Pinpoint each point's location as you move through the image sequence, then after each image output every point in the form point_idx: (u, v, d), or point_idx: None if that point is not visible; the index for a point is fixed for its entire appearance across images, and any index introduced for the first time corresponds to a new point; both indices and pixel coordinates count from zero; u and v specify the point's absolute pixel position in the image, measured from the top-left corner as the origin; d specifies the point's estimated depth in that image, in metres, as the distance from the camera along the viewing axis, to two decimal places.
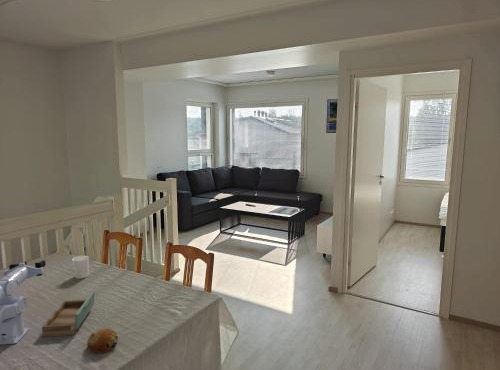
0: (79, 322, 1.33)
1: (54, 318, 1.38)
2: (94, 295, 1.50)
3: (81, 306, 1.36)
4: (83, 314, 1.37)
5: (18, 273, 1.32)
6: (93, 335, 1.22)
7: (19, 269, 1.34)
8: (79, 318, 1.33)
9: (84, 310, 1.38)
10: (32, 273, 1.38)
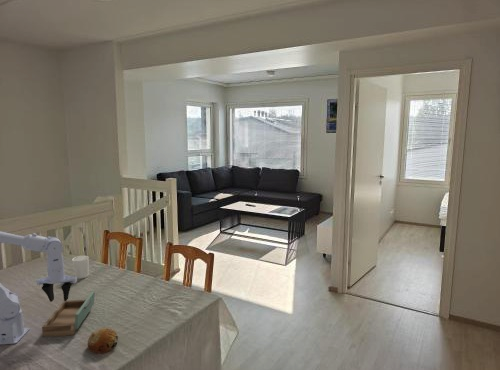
0: (79, 322, 1.33)
1: (54, 318, 1.38)
2: (94, 295, 1.50)
3: (81, 306, 1.36)
4: (83, 314, 1.37)
5: (62, 265, 1.36)
6: (93, 335, 1.22)
7: None
8: (79, 318, 1.33)
9: (84, 310, 1.38)
10: (65, 280, 1.37)
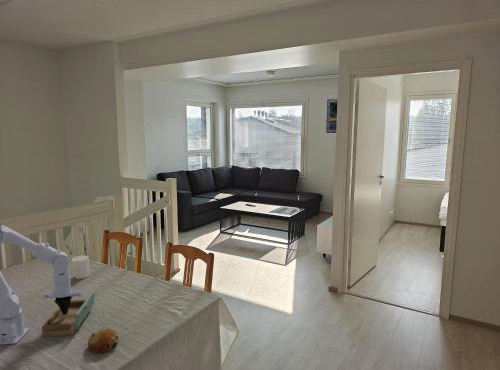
0: (79, 322, 1.33)
1: (54, 318, 1.38)
2: (94, 295, 1.50)
3: (81, 306, 1.36)
4: (83, 314, 1.37)
5: (68, 279, 1.37)
6: (93, 335, 1.22)
7: None
8: (79, 318, 1.33)
9: (84, 310, 1.38)
10: (71, 293, 1.38)
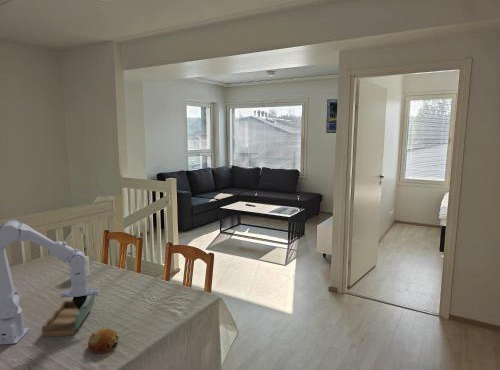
0: (79, 322, 1.33)
1: (54, 318, 1.38)
2: (94, 295, 1.50)
3: (81, 306, 1.37)
4: (83, 314, 1.37)
5: (84, 279, 1.38)
6: (94, 335, 1.22)
7: None
8: (79, 318, 1.33)
9: (84, 310, 1.38)
10: (88, 292, 1.39)
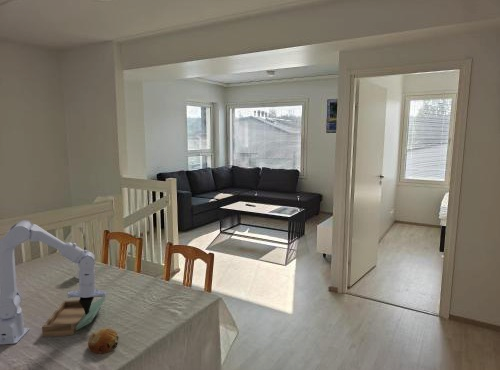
0: None
1: (54, 318, 1.38)
2: None
3: (94, 312, 1.37)
4: None
5: (93, 280, 1.38)
6: (94, 335, 1.22)
7: None
8: None
9: None
10: None
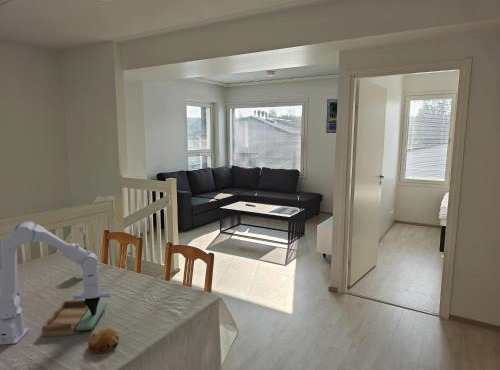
0: None
1: (54, 318, 1.38)
2: None
3: (97, 318, 1.38)
4: None
5: (97, 281, 1.38)
6: (94, 335, 1.22)
7: None
8: None
9: None
10: (100, 294, 1.39)
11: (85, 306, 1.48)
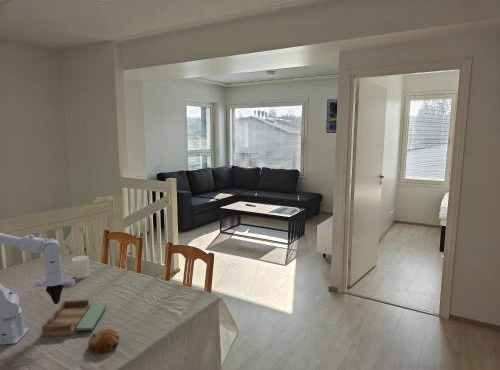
0: None
1: (54, 318, 1.38)
2: None
3: (97, 319, 1.38)
4: None
5: (59, 267, 1.34)
6: (94, 335, 1.22)
7: None
8: None
9: None
10: None
11: (85, 306, 1.48)
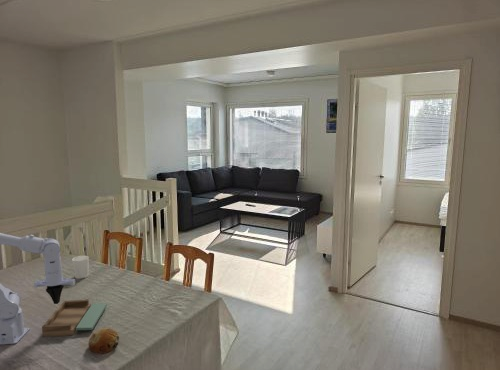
0: None
1: (54, 318, 1.38)
2: None
3: (97, 319, 1.38)
4: None
5: (59, 267, 1.34)
6: (94, 335, 1.22)
7: None
8: None
9: None
10: None
11: (85, 306, 1.48)
